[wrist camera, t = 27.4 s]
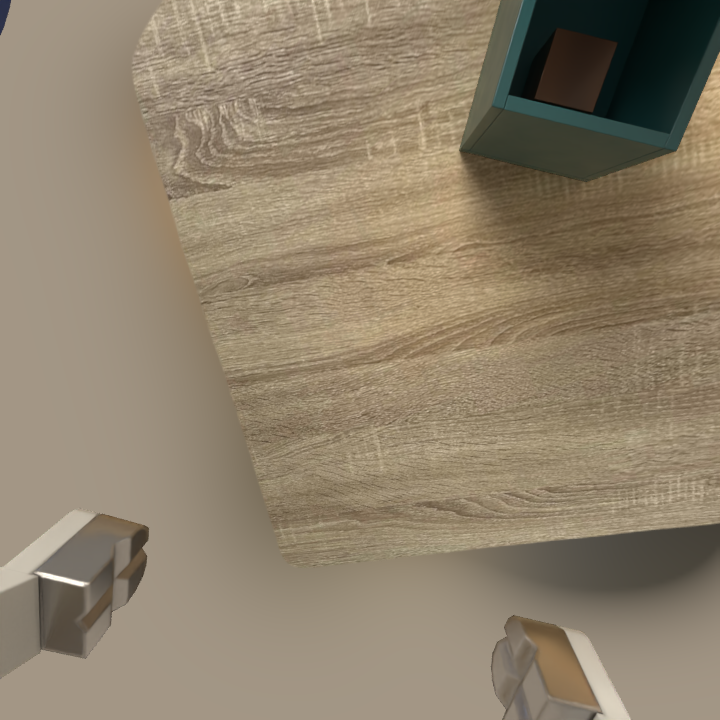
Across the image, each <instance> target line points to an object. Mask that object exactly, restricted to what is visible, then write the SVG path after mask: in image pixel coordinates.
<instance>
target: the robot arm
mask: <svg viewBox="0 0 720 720" xmlns="http://www.w3.org/2000/svg"><path fill="white" fill-rule="evenodd" d="M148 537H149V528H148V527H147V526H145V525H141V524H137V523H134V522H130V521H127V520H123V519H119V518H116V517H112V516H109V515H105V514H100V513H96V512H92V511H89V510H85V509H81V508H79V509H76V510H74V511H71V512H70V513H69V514H67V515H66V516H65V517H64V518H63V519H61V520H60V521H59V522H57V523H56V524H55V525H54V526H53V527H51V528H50V529H49V530H48V531H46V532H45V533H44V534H43V535H42V536H40V537H39V538H38V539H37V540H36V541H34V542H33V543H32V544H31V545H29V546H28V547H27V548H26V549H25V550H23V551H22V552H21V553H20V554H18V555H17V556H16V557H15V558H14V559H12V560H11V561H10V562H9V563H7V564H6V565H5V566H4V567H0V679H1V678H2V677H4V676H5V675H7V674H8V673H10V672H11V671H13V670H14V669H16V668H17V667H19V666H21V665H22V664H24V663H25V662H27V661H28V660H30V659H31V658H33V657H34V656H36V655H37V654H39V653H40V652H41V649H42V650H46V651H51V652H56V653H61V654H66V655H71V656H75V657H80V658H85V659H86V658H87V656H88V655H89V654H90V652H91V651H92V650H93V648H94V647H95V646H96V644H97V643H98V642H99V640H100V639H101V637H102V636H103V635H104V634H105V632H106V631H107V630H108V628H109V627H110V626H111V617H112V616H111V615H112V612H113V611H115V610H117V609H118V608H120V607H122V606H124V605H126V603H127V602H128V601H129V600H130V598H131V597H132V595H133V594H134V593H135V591H136V589H137V587H138V585H139V583H140V581H141V579H142V577H143V575H144V571H145V567H146V563H147V555H146V554H145V552H144V550H143V549H142V547H143V546H144V545H145V543H146V542H147V541H148ZM504 628H505V631H506V635H507V637H505V638H503V639H501V640H500V641H498V642H497V644H496V646H495V649H494V651H493V654H492V664H491V671H492V681H493V686H494V690H495V694H496V696H497V697H498V699H499V700H500V702H501V703H502V704H503V706H504V707H505V709H506V711H505V714H504V717H503V719H502V720H631V718H630V716H629V714H628V712H627V710H626V708H625V706H624V705H623V703H622V701H621V699H620V697H619V695H618V693H617V691H616V690H615V687H614V686H613V684H612V682H611V680H610V678H609V676H608V674H607V672H606V670H605V668H604V666H603V664H602V663H601V661H600V659H599V657H598V655H597V653H596V651H595V649H594V647H593V645H592V643H591V642H590V640H589V638H588V637H587V636H586V635H585V634H584V633H583V632H582V631H578V630H574V629H570V628H565V627H561V626H556V625H553V624H549V623H544V622H540V621H536V620H532V619H528V618H523V617H519V616H514V615H513V616H512V617H510V618H508V620H507V622H506V624H505V627H504Z"/></svg>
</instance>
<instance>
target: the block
mask: <svg viewBox="0 0 720 720" xmlns="http://www.w3.org/2000/svg"><path fill="white" fill-rule="evenodd" d="M617 44H618V42H615V41H611V40H607V39H603V38H599V37H594V36H590V35H586V34H582V33H578V32H574V31H570V30H566V29H561V28H556V30H555V31H554V32H553V34H552V35H551V36H550V37H549V39H548V40H547V41H546V43H545V44H544V45H543V47H542V48H541V49H540V51H539V52H538V53H537V55H536V56H535V57H534V58H533V62H532V65H531V68H530V71H529V74H528V78H527V81H526V84H525V87H524V91H523V94H522V97H521V98H524V99H528V100H532V101H536V102H540V103H544V104H548V105H552V106H557V107H561V108H565V109H569V110H573V111H577V112H581V113H585V114H589V115H590V114H592V113H593V111H594V108H595V105H596V102H597V100H598V97H599V94H600V91H601V89H602V86H603V83H604V80H605V78H606V75H607V72H608V69H609V67H610V64H611V61H612V58H613V55H614V53H615V50H616V47H617Z"/></svg>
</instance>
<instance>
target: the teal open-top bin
mask: <svg viewBox="0 0 720 720" xmlns="http://www.w3.org/2000/svg"><path fill="white" fill-rule="evenodd" d="M556 28H561V29H566V30H570V31H574V32H578V33H582V34H586V35H590V36H594V37H599V38H603V39H607V40H611V41H615V42H618V44H617V47H616V50H615V53H614V55H613V58H612V61H611V64H610V67H609V69H608V72H607V75H606V78H605V80H604V83H603V86H602V89H601V91H600V94H599V97H598V100H597V102H596V105H595V108H594V111H593V113H592V114H590V115H589V114H585V113H581V112H577V111H573V110H569V109H565V108H561V107H557V106H552V105H548V104H544V103H540V102H536V101H532V100H528V99H524V98H521V97H522V94H523V91H524V87H525V84H526V81H527V78H528V74H529V71H530V68H531V65H532V62H533V58H534V57H535V56H536V55H537V53H538V52H539V51H540V49H541V48H542V47H543V45H544V44H545V43H546V41H547V40H548V39H549V37H550V36H551V35H552V34H553V32H554V31H555V30H556ZM719 52H720V0H501V2H500V5H499V9H498V13H497V16H496V20H495V23H494V27H493V31H492V34H491V38H490V41H489V45H488V49H487V52H486V56H485V59H484V63H483V66H482V70H481V74H480V77H479V81H478V84H477V88H476V92H475V95H474V99H473V102H472V106H471V110H470V113H469V117H468V120H467V124H466V128H465V131H464V135H463V138H462V142H461V146H460V149H459V151H462V152H466V153H470V154H474V155H478V156H483V157H487V158H491V159H495V160H499V161H503V162H507V163H511V164H515V165H520V166H524V167H528V168H532V169H536V170H540V171H544V172H548V173H552V174H556V175H561V176H565V177H569V178H573V179H577V180H581V181H585V182H587V181H590V180H593V179H596V178H599V177H602V176H605V175H607V174H610V173H613V172H616V171H619V170H622V169H625V168H628V167H631V166H634V165H637V164H640V163H643V162H646V161H649V160H651V159H654V158H657V157H660V156H663V155H666V154H669V153H672V152H675V151H676V150H677V149H678V146H679V144H680V142H681V139H682V137H683V135H684V132H685V130H686V128H687V126H688V123H689V121H690V119H691V116H692V114H693V112H694V109H695V107H696V105H697V102H698V100H699V98H700V96H701V93H702V91H703V89H704V86H705V84H706V82H707V79H708V77H709V75H710V72H711V70H712V68H713V66H714V63H715V61H716V59H717V56H718V54H719Z"/></svg>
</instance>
